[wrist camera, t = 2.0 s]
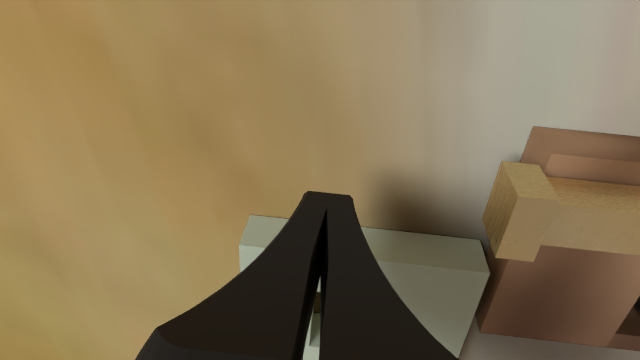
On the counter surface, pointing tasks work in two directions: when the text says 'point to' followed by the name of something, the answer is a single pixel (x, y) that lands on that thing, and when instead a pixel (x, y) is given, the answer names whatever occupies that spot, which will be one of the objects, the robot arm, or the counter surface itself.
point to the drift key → (559, 214)
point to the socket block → (569, 258)
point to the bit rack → (405, 277)
